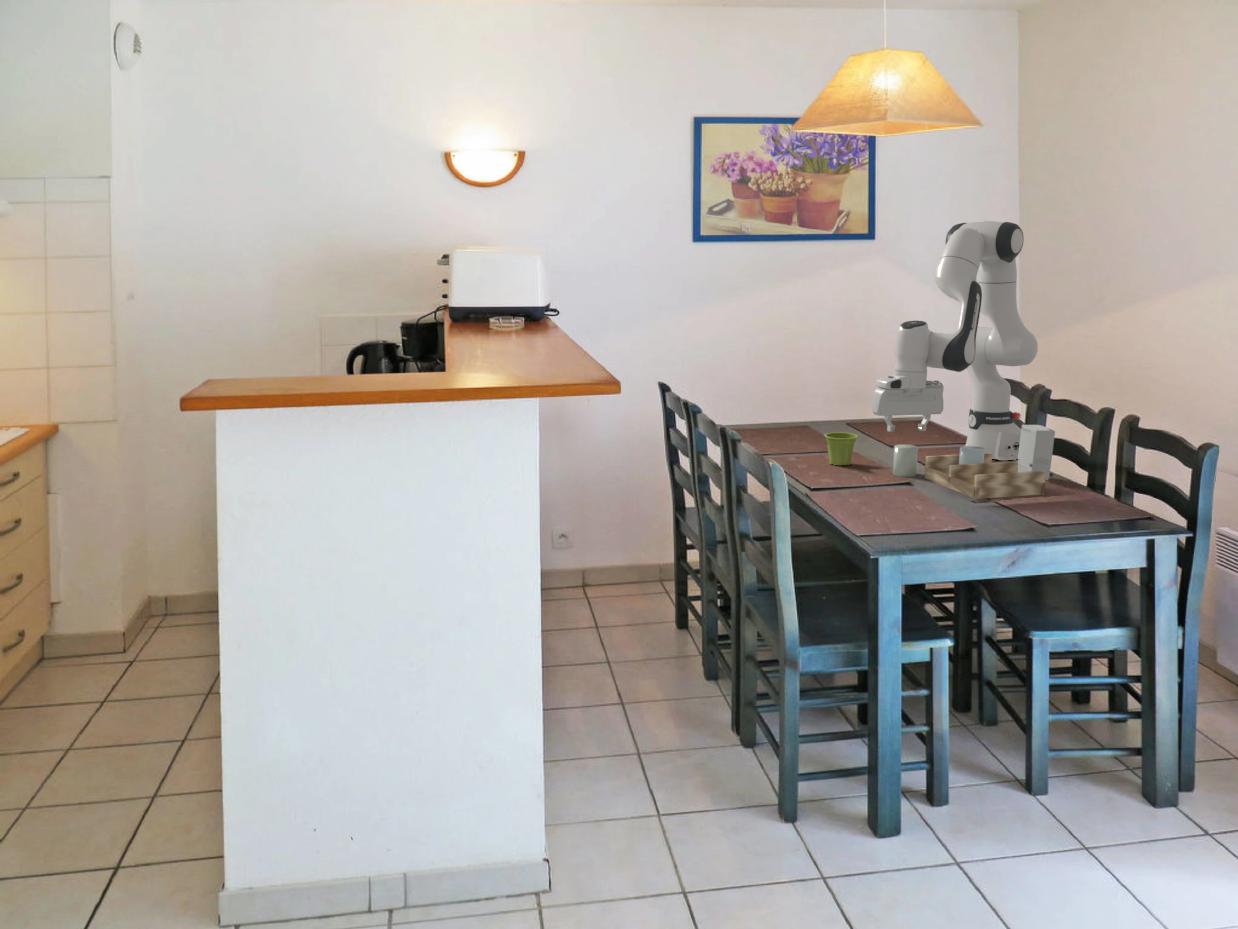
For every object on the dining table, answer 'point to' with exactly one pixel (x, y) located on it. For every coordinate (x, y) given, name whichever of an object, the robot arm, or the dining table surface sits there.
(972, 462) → the pale blue-grey rounded dome
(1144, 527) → the dining table surface
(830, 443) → the plant pot
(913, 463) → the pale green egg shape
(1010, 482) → the rack
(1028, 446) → the skincare box
